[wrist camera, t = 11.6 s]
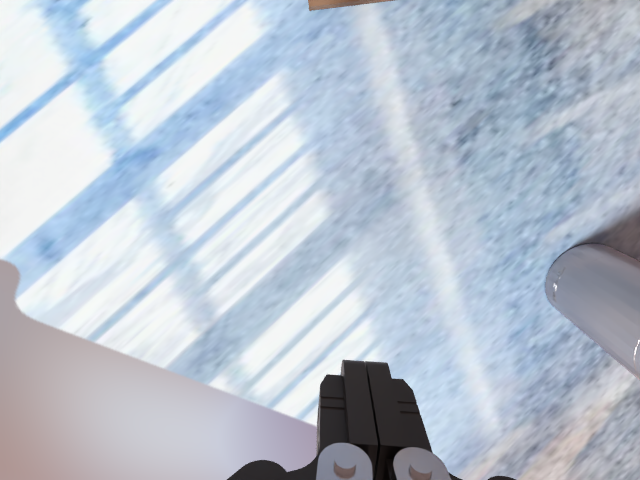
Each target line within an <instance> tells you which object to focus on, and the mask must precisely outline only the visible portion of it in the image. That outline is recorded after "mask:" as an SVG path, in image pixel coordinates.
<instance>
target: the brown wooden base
mask: <svg viewBox="0 0 640 480" xmlns="http://www.w3.org/2000/svg"><path fill="white" fill-rule="evenodd" d="M385 1H393V0H308V2H309V11H311V10H319V9H328V8H336V7H344V6H352V5H360V4H369V3H377V2H385Z"/></svg>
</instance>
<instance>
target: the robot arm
mask: <svg viewBox="0 0 640 480" xmlns="http://www.w3.org/2000/svg"><path fill="white" fill-rule="evenodd" d="M545 291H546V295H547V298H548V300H549V302H550V303H551V305H552V306H553V307H554V308H556V309H557V310H558V311H559V312H560V313H561V314H563V315H564V316H565V317H566V318H567V319H568V320H570V321H571V322H572V323H573V324H574V325H575V326H576V327H578V328H579V329H580V330H581V331H582V332H583V333H585V334H586V335H587V336H588V337H589V338H590V339H592V340H593V341H594V342H595V343H596V344H598V345H599V346H600V347H601V348H602V349H603V350H605V351H606V352H607V353H608V354H609V355H611V356H612V357H613V358H614V359H615V360H616V361H618V362H619V363H620V364H621V365H622V366H624V367H625V368H626V369H627V370H628V371H629V372H631V373H632V374H633V375H634V376H635V377H637V378H638V379H639V380H640V261H638V260H636V259H634V258H632V257H630V256H628V255H626V254H624V253H621V252H619V251H617V250H615V249H613V248H611V247H609V246H606V245H602V244H594V243H591V244H583V245H580V246H577V247H574V248H572V249H570V250H568V251H567V252H565V253H564V254H563V255H561V256H560V257H559V258H558V259H557V260H556V261H555V262H554V263H553V265H552V267H551V268H550V270H549V272H548V275H547V277H546V283H545ZM416 403H417V402H416V399H415V396H414V393H413V390H412V389H411V388H410V387H409V386H408V384H407V383H406V382H405V381H404V380H403V379H392V378H391V374H390V370H389V366H388V363H383V362H368V361H365V362H364V361H351V360H343V361H342V367H341V375H326V377H325V378H324V380H323V381H322V383H321V384H320V395H319V407H318V419H317V456H316V458H315V459H314V460H313V461H312V462H311V463H310V464H308V465H307V466H305V467H303V468H301V469H298V470H294V471H290V472H286V471H285V469H283V467H281V466H280V465H279V464H277V463H275V462H271V461H267V460H259V461H254V462H251V463H248V464H246V465H245V466H243V467H242V468H241V469H239V470H238V471H237V472H236V473H234V474H233V475H232V476H231V477H230V478H228V479H227V480H462V479H459V478H457V477H455V476H453V475H452V474H450V473H449V472H448V471H447V468H446V467H445V465H444V463H443V462H442V461H441V460H440V459H439V458H438V457H437V456H436V455H435V454H433V452H432V449H431V446H430V443H429V440H428V437H427V434H426V431H425V427H424V424H423V421H422V418H421V415H420V412H419V409H418V406H417V404H416ZM488 480H515V479H513V478H510V477H505V476H495V477H491V478H489V479H488Z"/></svg>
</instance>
